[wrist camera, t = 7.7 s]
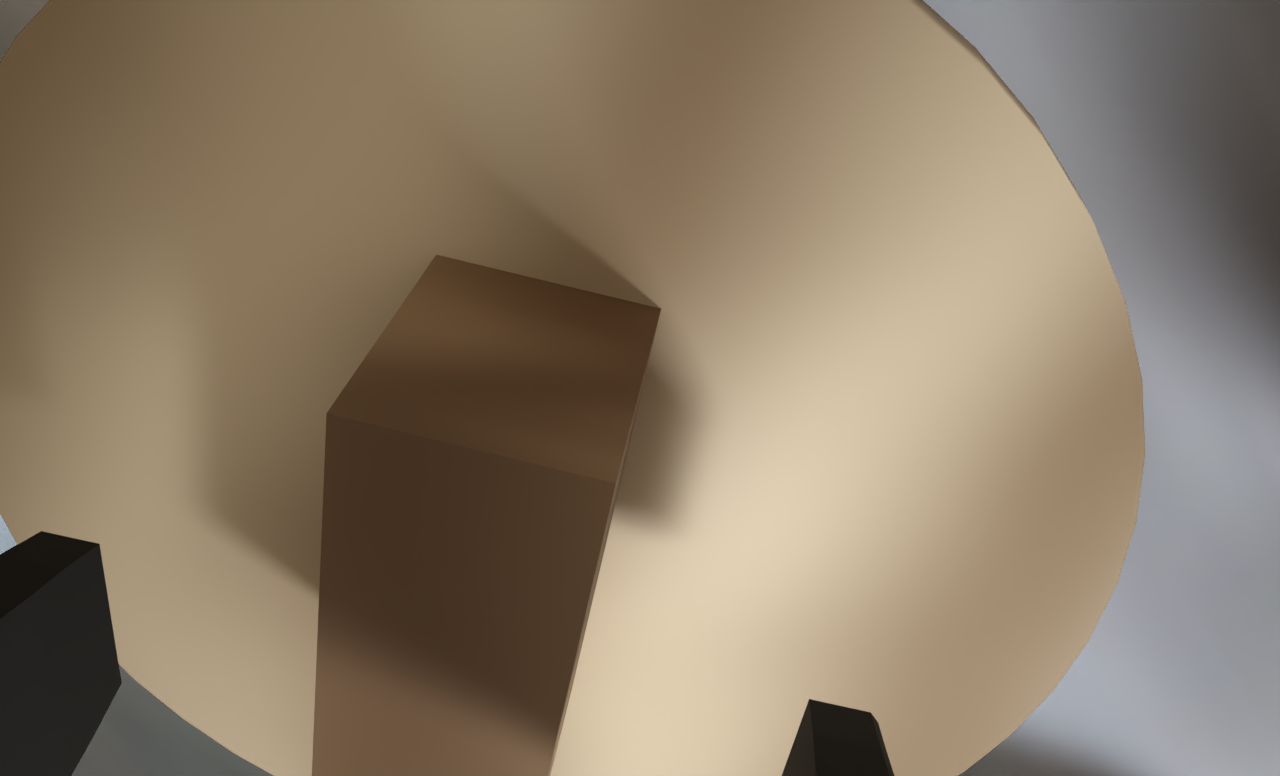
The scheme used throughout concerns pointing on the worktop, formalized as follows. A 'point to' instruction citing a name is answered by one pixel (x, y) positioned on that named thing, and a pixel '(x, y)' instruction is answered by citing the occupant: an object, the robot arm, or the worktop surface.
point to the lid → (560, 376)
